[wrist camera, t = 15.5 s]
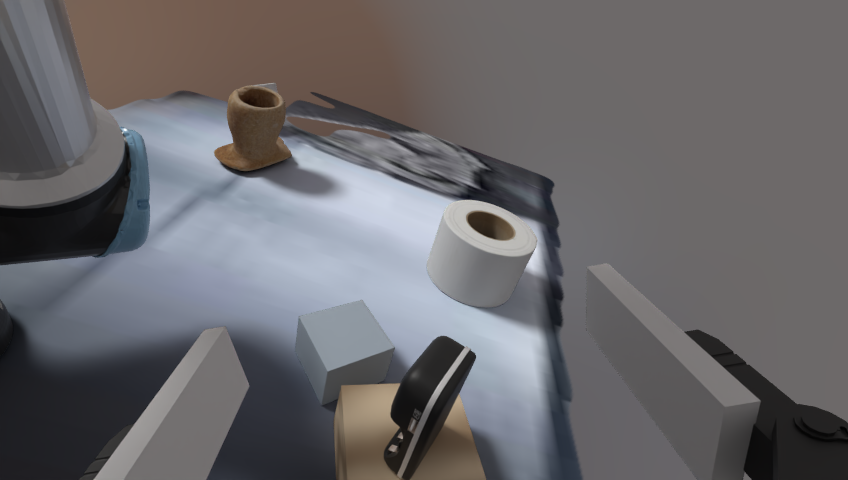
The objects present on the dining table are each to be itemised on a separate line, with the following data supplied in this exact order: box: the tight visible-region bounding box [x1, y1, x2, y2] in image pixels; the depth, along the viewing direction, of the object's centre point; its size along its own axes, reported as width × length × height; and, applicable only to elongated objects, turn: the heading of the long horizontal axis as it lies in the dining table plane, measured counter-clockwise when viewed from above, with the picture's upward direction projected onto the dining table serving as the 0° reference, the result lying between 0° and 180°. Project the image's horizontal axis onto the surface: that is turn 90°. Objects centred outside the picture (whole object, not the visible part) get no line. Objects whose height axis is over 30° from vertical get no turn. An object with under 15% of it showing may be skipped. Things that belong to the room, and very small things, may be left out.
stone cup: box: [214, 86, 292, 171], centre depth 80 cm, size 15×12×15 cm
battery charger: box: [384, 336, 476, 480], centre depth 34 cm, size 7×4×11 cm, turn 149°
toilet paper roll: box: [427, 200, 537, 308], centre depth 67 cm, size 16×15×11 cm
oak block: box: [334, 383, 486, 480], centre depth 38 cm, size 12×12×6 cm
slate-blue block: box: [295, 300, 395, 406], centre depth 47 cm, size 8×8×6 cm
